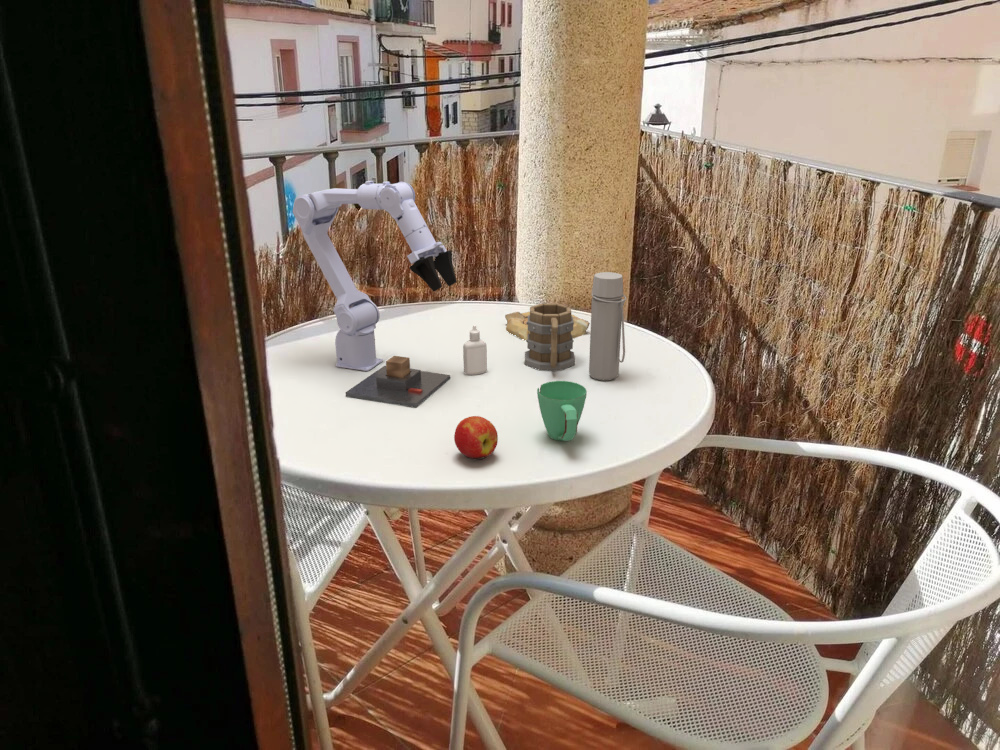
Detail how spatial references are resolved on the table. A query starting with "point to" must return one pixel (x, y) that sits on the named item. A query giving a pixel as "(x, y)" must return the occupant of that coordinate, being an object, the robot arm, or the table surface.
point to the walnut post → (398, 366)
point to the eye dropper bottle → (475, 354)
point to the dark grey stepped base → (398, 387)
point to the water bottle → (606, 326)
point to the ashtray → (520, 329)
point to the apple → (476, 437)
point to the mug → (561, 408)
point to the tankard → (550, 337)
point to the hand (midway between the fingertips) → (445, 286)
